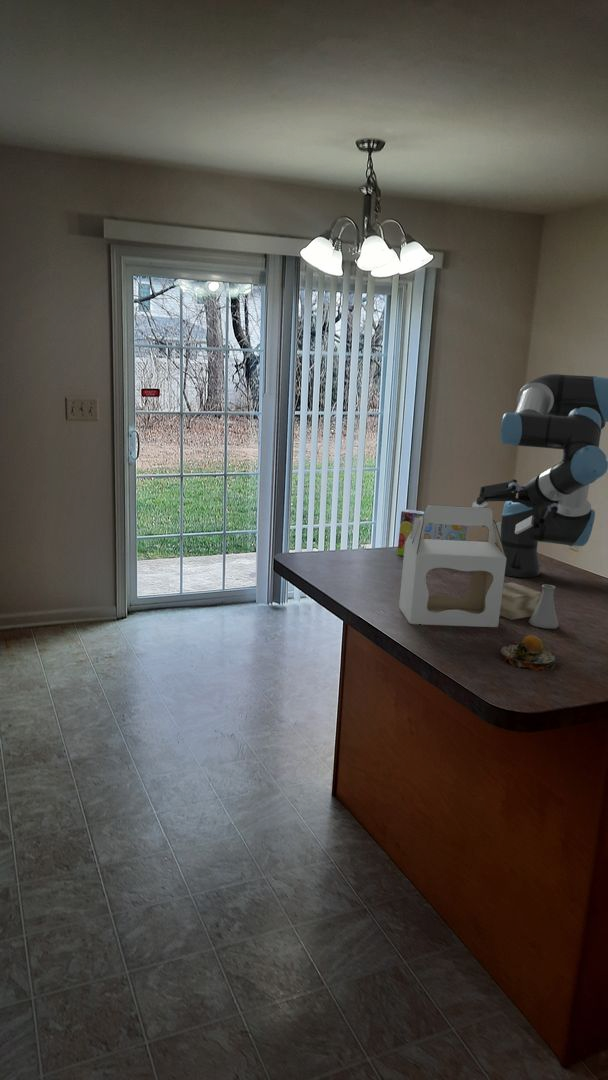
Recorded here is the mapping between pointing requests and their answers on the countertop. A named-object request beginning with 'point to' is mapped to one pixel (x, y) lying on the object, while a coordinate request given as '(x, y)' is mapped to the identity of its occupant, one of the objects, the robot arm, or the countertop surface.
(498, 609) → the gable box
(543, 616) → the flask
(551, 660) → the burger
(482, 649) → the countertop surface
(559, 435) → the robot arm
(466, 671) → the countertop surface
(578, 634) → the countertop surface
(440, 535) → the snack box
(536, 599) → the beech box
